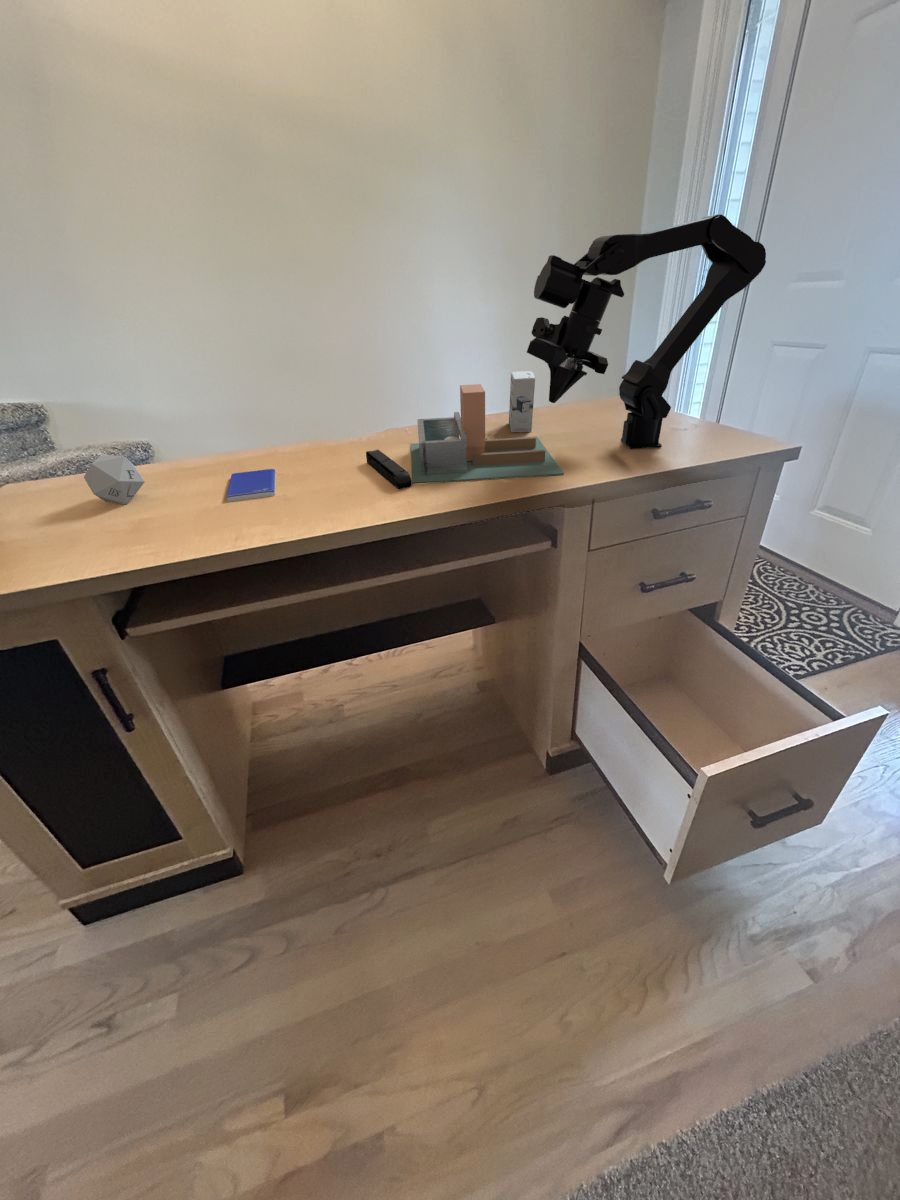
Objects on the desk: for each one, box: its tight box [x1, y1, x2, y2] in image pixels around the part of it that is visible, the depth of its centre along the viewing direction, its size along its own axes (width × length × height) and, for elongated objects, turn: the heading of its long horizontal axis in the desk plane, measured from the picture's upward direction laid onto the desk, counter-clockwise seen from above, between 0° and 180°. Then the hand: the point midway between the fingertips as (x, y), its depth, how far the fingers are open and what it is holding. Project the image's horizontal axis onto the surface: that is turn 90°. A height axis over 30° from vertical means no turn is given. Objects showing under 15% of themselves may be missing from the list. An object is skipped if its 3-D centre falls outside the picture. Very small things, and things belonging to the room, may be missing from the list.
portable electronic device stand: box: [365, 449, 413, 490], centre depth 100 cm, size 18×3×3 cm, turn 27°
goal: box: [416, 411, 467, 475], centre depth 104 cm, size 9×17×7 cm, turn 4°
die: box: [83, 454, 145, 505], centre depth 93 cm, size 8×9×10 cm
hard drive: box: [225, 468, 277, 503], centre depth 98 cm, size 2×8×12 cm
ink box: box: [508, 370, 536, 433], centre depth 122 cm, size 9×5×12 cm, turn 179°
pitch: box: [410, 435, 565, 485], centre depth 106 cm, size 28×24×2 cm
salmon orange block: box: [459, 383, 486, 461], centre depth 103 cm, size 4×7×13 cm, turn 4°
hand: (551, 402), depth 104 cm, fingers closed
